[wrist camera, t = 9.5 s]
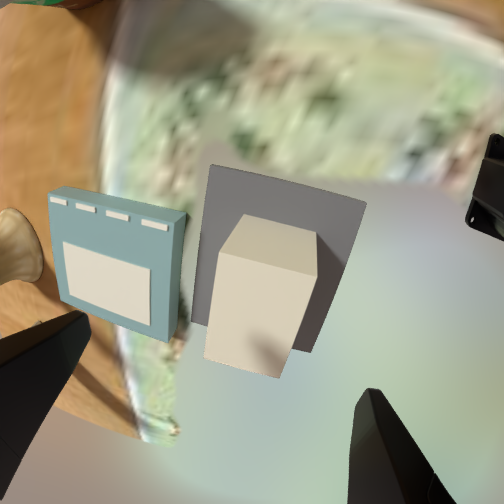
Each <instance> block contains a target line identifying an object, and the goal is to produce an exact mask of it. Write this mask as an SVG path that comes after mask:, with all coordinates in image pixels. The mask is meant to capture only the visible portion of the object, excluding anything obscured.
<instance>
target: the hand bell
mask: <svg viewBox="0 0 504 504" xmlns="http://www.w3.org/2000/svg"><path fill="white" fill-rule="evenodd" d="M42 270H43V255H42V250H41V246H40V243H39V240H38V238H37V235H36V233H35V231H34V229H33V227H32V226H31V224H30V223H29V221H28V220H27V219H26V218H25V217H24V215H23V214H21V213H20V212H19V211H17V210H16V209H13V208H6V209H4V210H3V211H2V212H1V213H0V285H2V284H4V283H6V282H9V281H12V280H21V281H24V282H34V281H36V280H38V279H39V278H40V276H41V274H42Z"/></svg>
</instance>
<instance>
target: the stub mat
mask: <svg viewBox="0 0 504 504" xmlns="http://www.w3.org/2000/svg"><path fill="white" fill-rule="evenodd" d="M365 208H366V202H364V201H361V200H357V199H354V198H350V197H347V196H344V195H340V194H336V193H332V192H329V191H325V190H322V189H318V188H314V187H310V186H306V185H302V184H298V183H294V182H290V181H286V180H282V179H278V178H274V177H269V176H265V175H261V174H256V173H252V172H247V171H243V170H238V169H233V168H228V167H223V166H218V165H213V164H212V165H210V170H209V176H208V183H207V190H206V196H205V204H204V211H203V218H202V226H201V233H200V241H199V250H198V258H197V267H196V276H195V285H194V295H193V305H192V315H191V322H194V323H198V324H201V325H204V326H208V322H209V314H210V308H211V301H212V294H213V287H214V281H215V274H216V267H217V261H218V255H219V251H220V249H221V248H222V246H223V245H224V243H225V242H226V240H227V239H228V237H229V236H230V234H231V233H232V231H233V230H234V228H235V227H236V225H237V224H238V222H239V221H240V219H241V218H242V216H243V215H244V214H246V215H250V216H254V217H258V218H262V219H266V220H270V221H274V222H278V223H282V224H286V225H290V226H294V227H298V228H302V229H305V230H309V231H313V232H316V244H317V279H316V282H315V285H314V288H313V291H312V294H311V297H310V299H309V302H308V305H307V308H306V311H305V313H304V316H303V319H302V321H301V324H300V327H299V329H298V332H297V335H296V337H295V340H294V343H293V345H292V348H291V349H296V350H301V351H305V352H309V353H311V351H312V349H313V346H314V344H315V342H316V339H317V337H318V335H319V332H320V330H321V327H322V325H323V323H324V320H325V318H326V316H327V313H328V311H329V308H330V306H331V303H332V301H333V298H334V295H335V293H336V290H337V288H338V285H339V282H340V280H341V277H342V275H343V272H344V269H345V267H346V264H347V261H348V258H349V255H350V253H351V250H352V247H353V244H354V241H355V238H356V235H357V231H358V229H359V226H360V223H361V220H362V217H363V214H364V210H365Z"/></svg>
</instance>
